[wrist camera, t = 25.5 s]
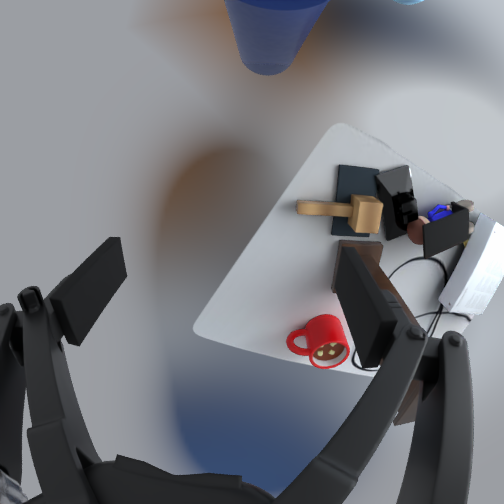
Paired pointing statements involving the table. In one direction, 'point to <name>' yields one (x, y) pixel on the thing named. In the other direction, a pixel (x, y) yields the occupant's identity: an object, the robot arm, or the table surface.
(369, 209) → the wooden toy mallet
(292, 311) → the table surface
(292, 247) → the table surface
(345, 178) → the mat
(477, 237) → the skincare box
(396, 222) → the black angular block
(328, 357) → the mug
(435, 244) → the figurine character
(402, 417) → the stand
